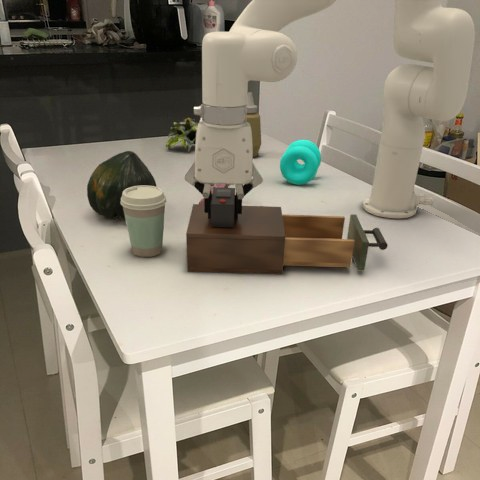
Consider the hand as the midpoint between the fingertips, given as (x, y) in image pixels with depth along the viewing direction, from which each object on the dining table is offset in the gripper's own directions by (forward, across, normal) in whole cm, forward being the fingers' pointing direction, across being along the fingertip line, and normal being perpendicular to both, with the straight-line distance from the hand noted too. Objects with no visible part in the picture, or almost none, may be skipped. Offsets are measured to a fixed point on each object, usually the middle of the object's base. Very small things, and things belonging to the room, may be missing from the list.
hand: (223, 215), depth 100 cm
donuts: (+8, +19, +48) cm, 52 cm away
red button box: (0, 0, 0) cm, 0 cm away
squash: (+8, -23, +20) cm, 32 cm away
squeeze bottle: (+8, +5, +71) cm, 72 cm away
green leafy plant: (+8, -14, +75) cm, 77 cm away
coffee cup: (+8, -15, +1) cm, 17 cm away
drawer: (+7, +20, 0) cm, 22 cm away
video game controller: (+8, -3, +28) cm, 29 cm away
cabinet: (+8, +2, 0) cm, 9 cm away
